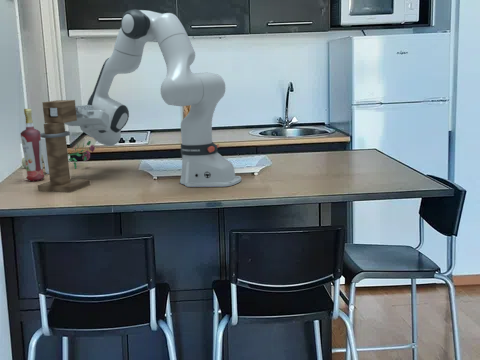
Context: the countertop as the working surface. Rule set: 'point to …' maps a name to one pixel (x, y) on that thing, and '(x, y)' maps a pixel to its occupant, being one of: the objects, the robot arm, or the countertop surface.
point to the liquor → (32, 149)
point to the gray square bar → (86, 107)
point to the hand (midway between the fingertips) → (71, 109)
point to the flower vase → (85, 156)
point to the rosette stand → (59, 147)
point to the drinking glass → (44, 154)
